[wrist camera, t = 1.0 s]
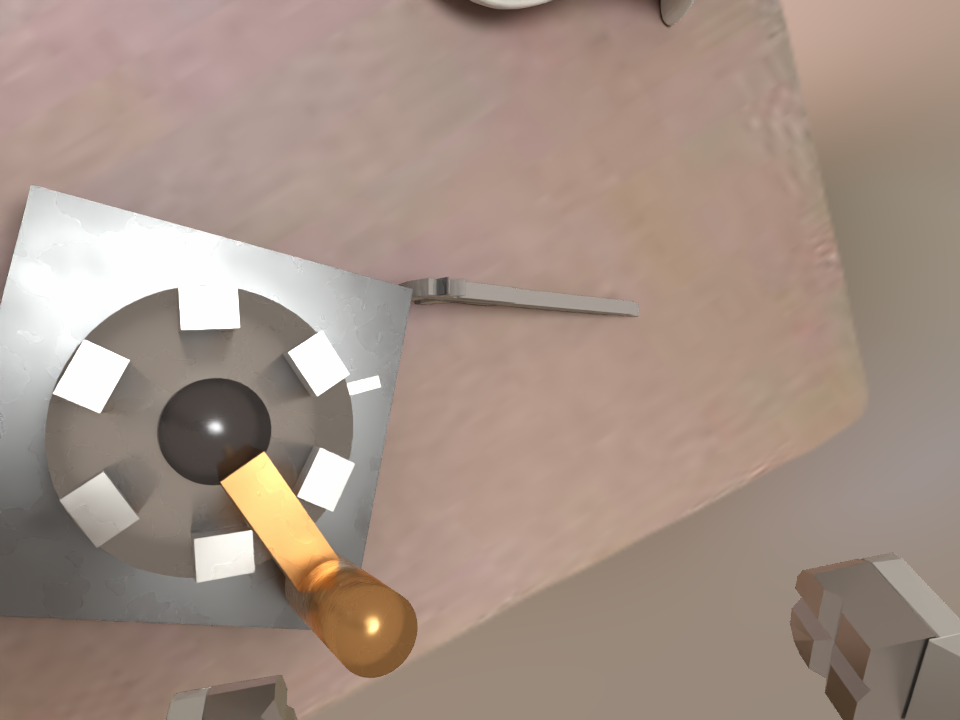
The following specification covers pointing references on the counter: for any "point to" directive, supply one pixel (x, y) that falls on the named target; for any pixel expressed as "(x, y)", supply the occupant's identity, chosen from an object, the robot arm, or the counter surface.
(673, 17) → the spoon rest
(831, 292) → the counter surface
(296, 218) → the counter surface
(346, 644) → the rotary crank dial
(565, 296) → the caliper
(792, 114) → the counter surface
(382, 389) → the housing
